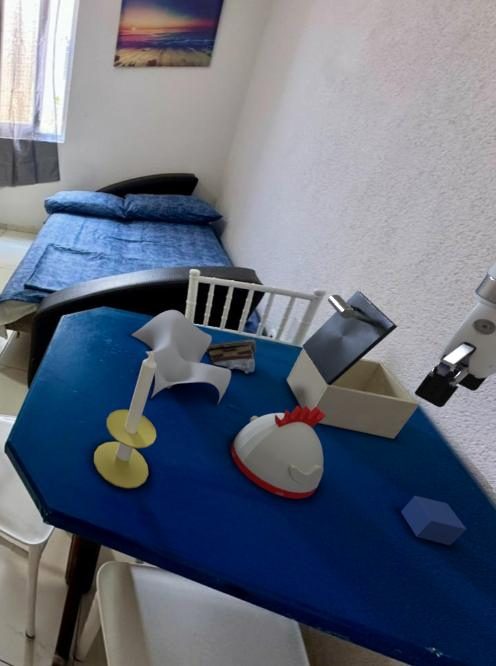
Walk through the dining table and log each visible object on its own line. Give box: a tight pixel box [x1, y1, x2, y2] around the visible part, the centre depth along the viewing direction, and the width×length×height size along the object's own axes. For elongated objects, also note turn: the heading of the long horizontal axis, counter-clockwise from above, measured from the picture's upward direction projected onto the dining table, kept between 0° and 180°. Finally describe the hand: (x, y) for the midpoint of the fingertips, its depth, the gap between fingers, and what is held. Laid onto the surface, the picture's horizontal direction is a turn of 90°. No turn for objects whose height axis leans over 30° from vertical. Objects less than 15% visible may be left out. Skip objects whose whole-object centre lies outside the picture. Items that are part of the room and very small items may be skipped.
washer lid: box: [301, 290, 398, 385], centre depth 85 cm, size 16×14×7 cm
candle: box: [93, 350, 157, 489], centre depth 70 cm, size 10×10×27 cm
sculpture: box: [131, 309, 232, 406], centre depth 100 cm, size 25×19×10 cm
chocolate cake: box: [205, 338, 258, 374], centre depth 103 cm, size 10×7×12 cm
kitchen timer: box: [230, 405, 326, 500], centre depth 74 cm, size 14×14×15 cm
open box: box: [286, 347, 420, 440], centre depth 89 cm, size 16×14×10 cm
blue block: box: [400, 495, 467, 546], centre depth 67 cm, size 4×4×4 cm
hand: (445, 392), depth 62 cm, fingers open, 9 cm apart
